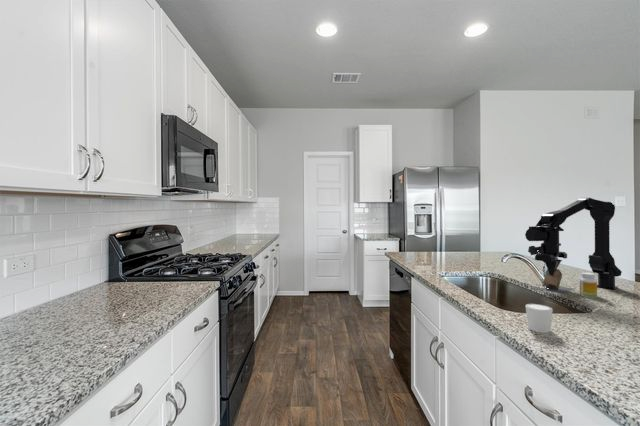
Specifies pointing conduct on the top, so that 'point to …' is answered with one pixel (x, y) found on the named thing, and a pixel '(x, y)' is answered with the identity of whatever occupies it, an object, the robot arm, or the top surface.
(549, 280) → the walnut block
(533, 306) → the white cup
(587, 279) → the supplement bottle
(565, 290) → the gray flat panel
